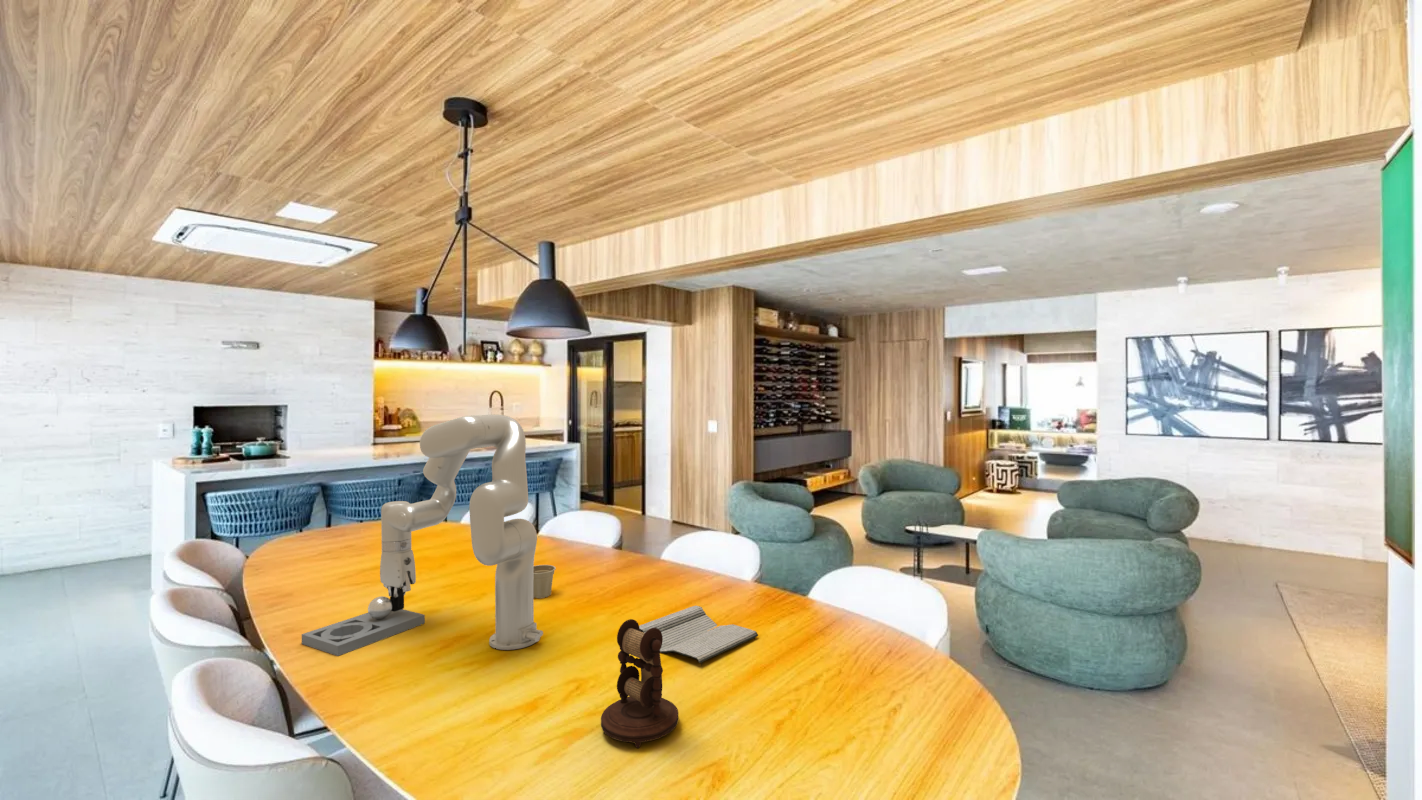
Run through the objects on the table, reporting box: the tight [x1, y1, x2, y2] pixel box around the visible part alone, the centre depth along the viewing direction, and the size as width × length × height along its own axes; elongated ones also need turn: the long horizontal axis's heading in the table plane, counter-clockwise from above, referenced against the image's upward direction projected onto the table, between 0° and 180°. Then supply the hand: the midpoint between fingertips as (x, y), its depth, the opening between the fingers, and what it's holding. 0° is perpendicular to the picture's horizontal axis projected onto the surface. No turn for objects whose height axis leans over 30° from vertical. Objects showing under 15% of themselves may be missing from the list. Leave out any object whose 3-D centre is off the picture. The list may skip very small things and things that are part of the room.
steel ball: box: [367, 595, 393, 619], centre depth 166 cm, size 6×6×6 cm
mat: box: [639, 605, 759, 667], centre depth 156 cm, size 23×24×5 cm
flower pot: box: [533, 564, 557, 599], centre depth 192 cm, size 9×9×9 cm
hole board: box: [301, 608, 425, 657], centre depth 162 cm, size 16×24×2 cm, turn 152°
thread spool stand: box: [600, 618, 679, 749], centre depth 115 cm, size 15×15×20 cm
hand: (397, 609), depth 170 cm, fingers closed
